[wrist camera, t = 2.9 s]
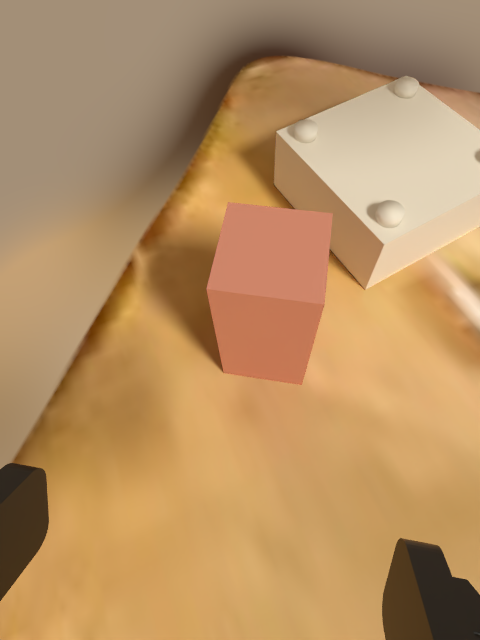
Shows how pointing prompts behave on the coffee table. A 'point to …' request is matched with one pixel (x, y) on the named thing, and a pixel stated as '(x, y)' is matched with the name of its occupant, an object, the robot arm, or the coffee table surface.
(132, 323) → the coffee table surface
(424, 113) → the base brick
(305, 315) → the tall block
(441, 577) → the robot arm
